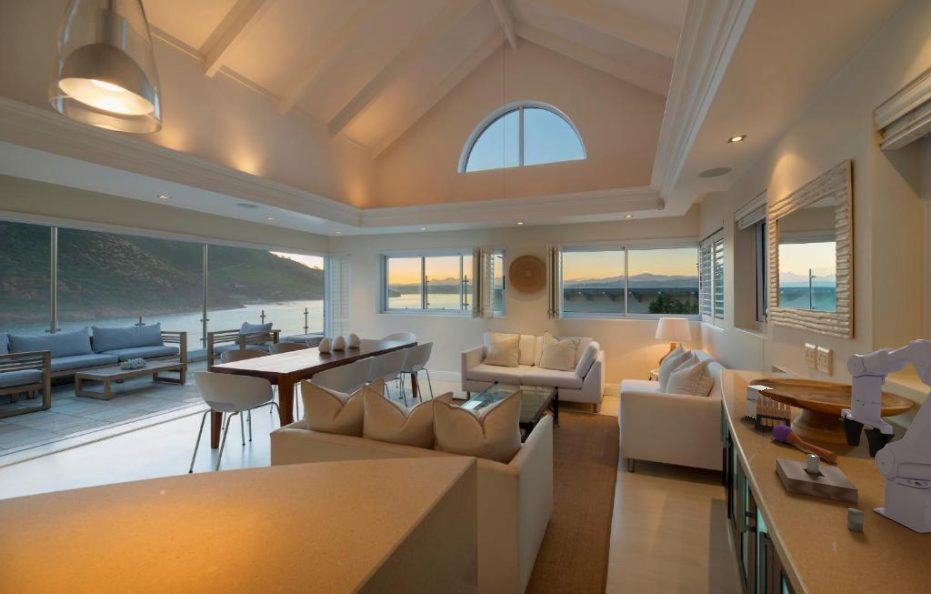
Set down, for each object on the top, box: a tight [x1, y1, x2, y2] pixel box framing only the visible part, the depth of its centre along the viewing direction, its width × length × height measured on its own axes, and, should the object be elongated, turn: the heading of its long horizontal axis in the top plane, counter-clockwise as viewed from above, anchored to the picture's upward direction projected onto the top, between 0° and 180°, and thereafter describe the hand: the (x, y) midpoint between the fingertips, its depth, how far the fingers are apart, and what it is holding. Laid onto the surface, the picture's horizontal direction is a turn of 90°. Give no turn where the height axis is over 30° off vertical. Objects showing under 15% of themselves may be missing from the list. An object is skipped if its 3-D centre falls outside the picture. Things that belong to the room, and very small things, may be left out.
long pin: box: [806, 453, 821, 476], centre depth 114 cm, size 3×3×8 cm
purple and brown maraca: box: [772, 424, 838, 463], centre depth 139 cm, size 6×6×20 cm
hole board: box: [775, 457, 859, 504], centre depth 114 cm, size 14×14×4 cm
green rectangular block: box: [846, 507, 865, 533], centre depth 94 cm, size 3×3×4 cm
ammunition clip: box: [754, 396, 792, 430], centre depth 158 cm, size 11×2×12 cm, turn 54°
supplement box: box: [745, 385, 775, 420], centre depth 171 cm, size 7×7×13 cm
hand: (864, 451), depth 112 cm, fingers open, 7 cm apart
